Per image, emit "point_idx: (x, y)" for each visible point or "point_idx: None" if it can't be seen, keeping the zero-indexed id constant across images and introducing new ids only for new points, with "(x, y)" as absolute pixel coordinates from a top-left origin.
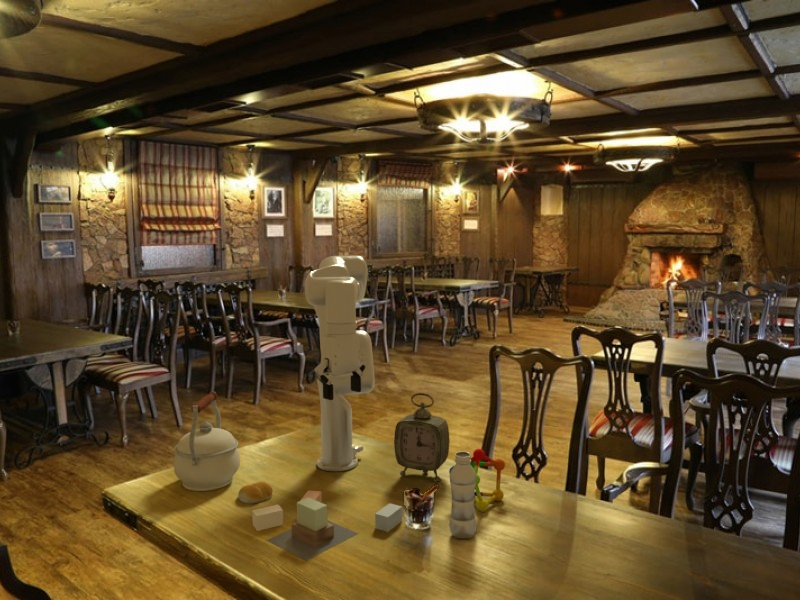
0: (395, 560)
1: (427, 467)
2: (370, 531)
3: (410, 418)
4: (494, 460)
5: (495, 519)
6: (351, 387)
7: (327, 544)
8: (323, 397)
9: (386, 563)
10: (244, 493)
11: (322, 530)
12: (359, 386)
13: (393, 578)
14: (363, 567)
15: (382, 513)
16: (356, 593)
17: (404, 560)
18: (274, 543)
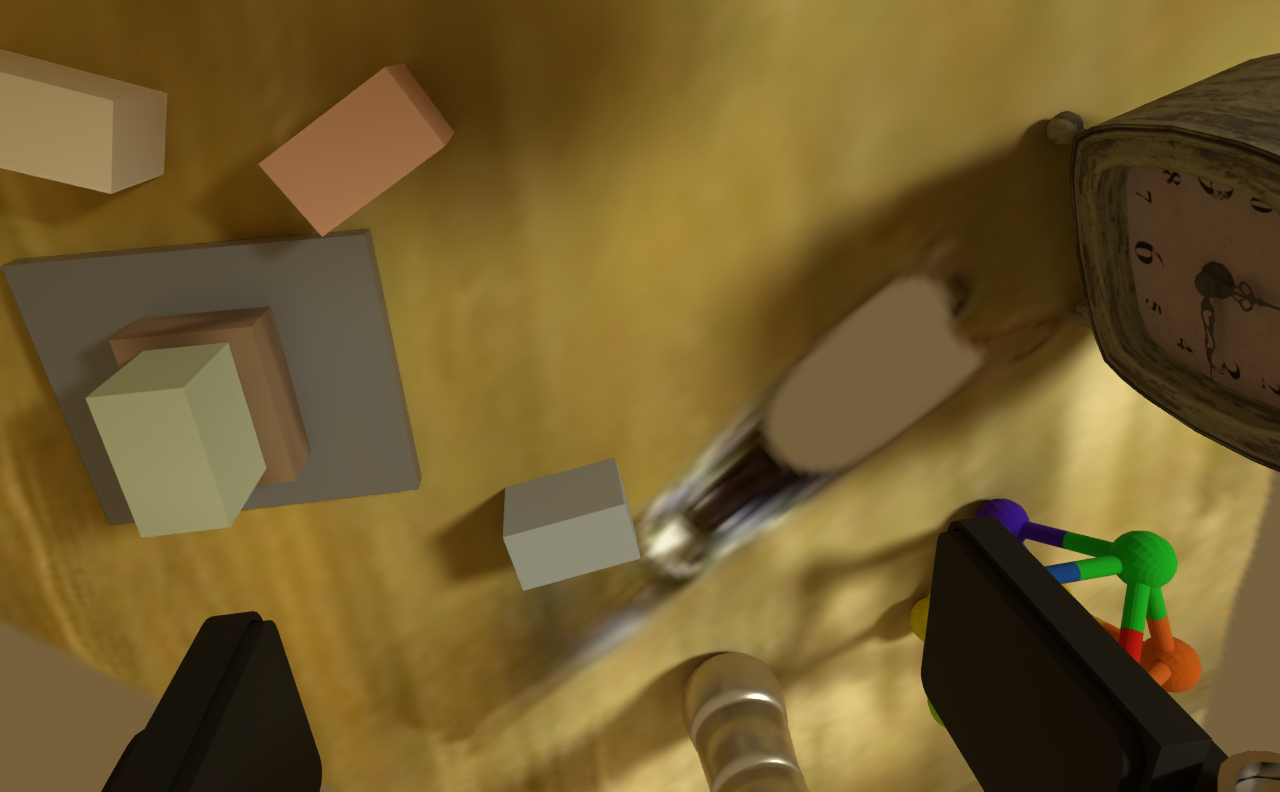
0: (430, 661)
1: (1099, 310)
2: (498, 465)
3: None
4: (1161, 685)
5: (891, 666)
6: (967, 573)
7: None
8: (208, 628)
9: (392, 658)
10: None
11: None
12: (979, 768)
13: (354, 725)
14: (309, 634)
15: (528, 555)
16: None
17: (455, 676)
18: (29, 322)
